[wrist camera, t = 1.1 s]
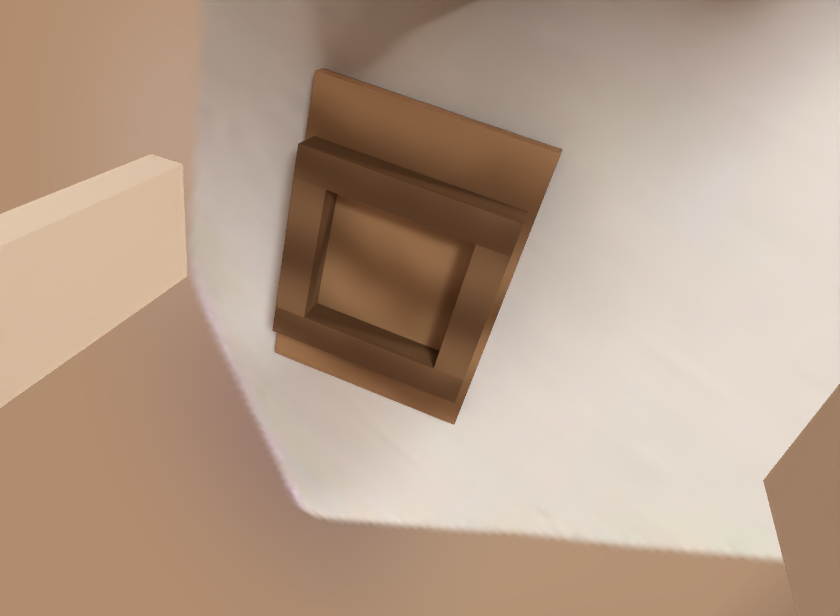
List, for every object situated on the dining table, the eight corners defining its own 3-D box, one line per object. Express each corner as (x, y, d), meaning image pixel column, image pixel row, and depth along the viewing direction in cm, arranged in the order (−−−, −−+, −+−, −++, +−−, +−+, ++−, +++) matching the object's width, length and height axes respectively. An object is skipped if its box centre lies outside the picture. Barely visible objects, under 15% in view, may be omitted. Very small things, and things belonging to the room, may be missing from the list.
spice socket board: (323, 68, 33) (298, 75, 30) (562, 149, 31) (557, 164, 28) (281, 345, 43) (260, 367, 41) (457, 415, 42) (447, 443, 39)
